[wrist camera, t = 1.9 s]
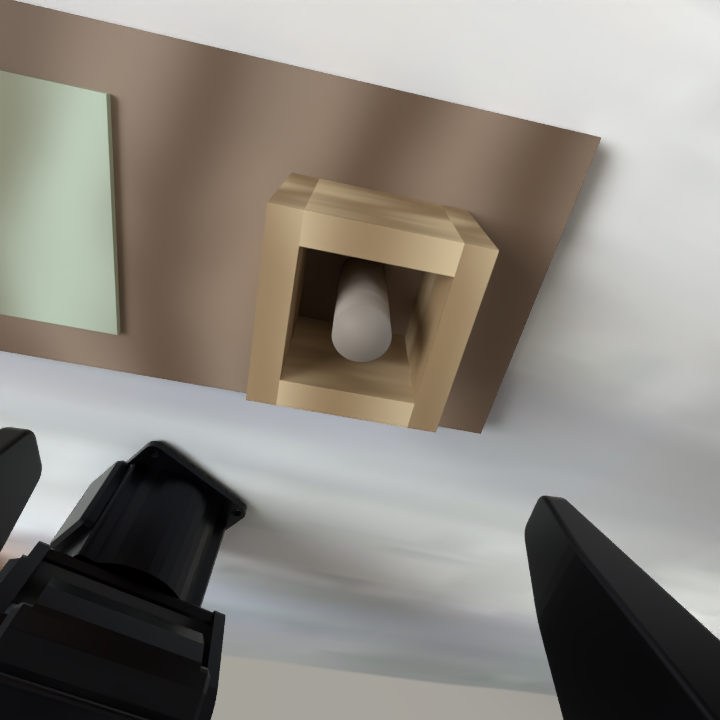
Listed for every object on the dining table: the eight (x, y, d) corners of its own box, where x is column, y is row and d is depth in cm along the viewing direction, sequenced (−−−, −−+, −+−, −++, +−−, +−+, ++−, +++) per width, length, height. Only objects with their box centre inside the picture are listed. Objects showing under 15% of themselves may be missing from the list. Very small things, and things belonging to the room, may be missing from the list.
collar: (467, 209, 18) (499, 250, 14) (421, 360, 21) (435, 432, 17) (291, 172, 17) (267, 202, 13) (271, 332, 21) (245, 399, 16)
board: (587, 134, 18) (690, 158, 12) (475, 418, 24) (509, 521, 18) (-252, -62, 15) (-612, -145, 10) (-133, 311, 22) (-309, 392, 16)
